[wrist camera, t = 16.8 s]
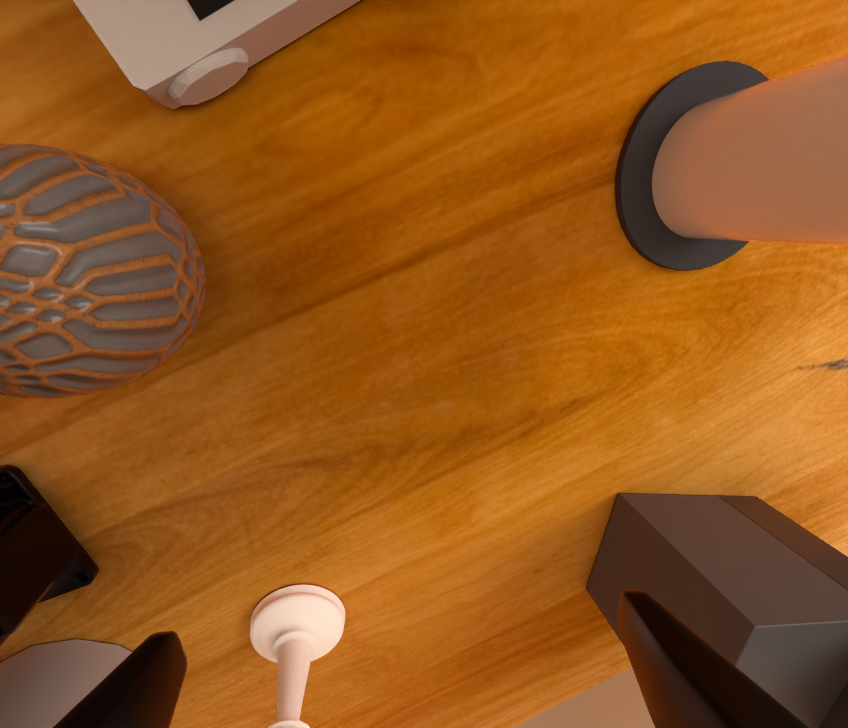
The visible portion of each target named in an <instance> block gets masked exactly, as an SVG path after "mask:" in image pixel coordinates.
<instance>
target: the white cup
mask: <svg viewBox="0 0 848 728" xmlns="http://www.w3.org/2000/svg"><path fill="white" fill-rule="evenodd" d="M652 196H653V201H654V205H655V208H656V211H657V213H658V215H659V217H660V219H661V220H662V221H663V223H664V224H665V225H666V226H667V227H668V228H669V229H670V230H671V231H673V232H674V233H676V234H678V235H680V236H682V237H686V238H691V239H710V240H732V241H755V242H778V243H801V244H824V245H847V246H848V54H846V55H843V56H840V57H837V58H834V59H831V60H828V61H825V62H822V63H819V64H816V65H813V66H810V67H807V68H804V69H801V70H798V71H795V72H792V73H789V74H787V75H784V76H781V77H778V78H775V79H772V80H769V81H766V82H763V83H760V84H757V85H754V86H751V87H748V88H745V89H742V90H739V91H736V92H733V93H730V94H727V95H724V96H721V97H718V98H715V99H712V100H709V101H706V102H703V103H701V104H699V105H697V106H695V107H694V108H692V109H691V110H689V111H688V112H687V113H685V114H684V115H683V116H682V117H681V118H680V119H679V120H678V121H677V122H676V123H675V124H674V125H673V127H672V128H671V129H670V131H669V132H668V133H667V135H666V137H665V139H664V140H663V142H662V144H661V146H660V149H659V151H658V154H657V156H656V159H655V163H654V168H653V174H652Z"/></svg>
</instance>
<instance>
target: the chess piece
mask: <svg viewBox="0 0 848 728" xmlns="http://www.w3.org/2000/svg"><path fill="white" fill-rule="evenodd" d="M344 622H345V609H344V606H343V604H342V602H341V600H340V599H339V598H338V597H337V596H336V595H335V594H334V593H332V592H331V591H329V590H327V589H325V588H322V587H319V586H315V585H305V584H303V585H292V586H288V587H284V588H281V589H279V590H276V591H274V592H273V593H271V594H269V595H268V596H266V597H265V598H264V599H263V600H262V601H261V602H260V603H259V604H258V605H257V606H256V608H255V610H254V612H253V614H252V617H251V623H250V625H251V628H250V639H251V643H252V645H253V647H254V649H255V650H256V651H257V652H258V653H259V654H260V655H261V656H262V657H264V658H265V659H267V660H269V661H272V662H275V663H278V676H277V708H276V723H273V724H271V725H270V726H268V727H267V728H310V727H309V726H308V725H307V724H306V723H304V722H302V721H299V719H300V714H301V708H302V702H303V697H304V691H305V686H306V681H307V677H308V672H309V667H310V662H311V661H314V660H316V659H318V658H320V657H322V656H324V655H325V654H327V653H328V652H329V651H331V650H332V649H333V648H334V647H335V646H336V644H337V643H338V642H339V640H340V638H341V636H342V633H343V629H344Z"/></svg>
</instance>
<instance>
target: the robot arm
mask: <svg viewBox="0 0 848 728" xmlns="http://www.w3.org/2000/svg"><path fill="white" fill-rule="evenodd" d="M3 476H5V477H7V478H8V479H9V480H6V479H4V478H3ZM98 572H99V569H98V567H97V565H96V564H95V563H94V562H93V560H92V559H91V558H90V557H89V555H88V554H87V553H86V551H85V550H84V549H83V548H82V546H81V545H80V544H79V543H78V541H77V540H76V539H75V538H74V536H73V535H72V534H71V533H70V531H69V530H68V529H67V527H66V526H65V525H64V524H63V522H62V521H61V520H60V519H59V517H58V516H57V515H56V514H55V512H54V511H53V510H52V509H51V507H50V506H49V505H48V504H47V502H46V501H45V500H44V498H43V497H42V496H41V495H40V493H39V492H38V491H37V490H36V488H35V487H34V486H33V485H32V483H31V482H30V481H29V480H28V478H27V477H26V476H25V474H24V473H23V472H22V471H21V470H20V469H19V468H17V467H15V466H12V465H4V466H0V646H1V645H2V644H3V642H4V641H5V640H6V639H7V638H8V636H9V635H10V634H12V633H13V632H14V631H16V629H17V628H18V627H19V626H20V624H21V623H22V622H23V621H24V619H25V618H26V617H27V616H28V614H29V613H30V612H31V611H32V610H33V608H34V607H35V606H36V605H37V603H40V602H43V601H45V600H48V599H51V598H53V597H56V596H59V595H62V594H64V593H67V592H70V591H73V590H75V589H78V588H81V587H83V586H86V585H88V584H90V583H92V581H93V580H94V579H95V577H96V576H97V574H98ZM82 573H85V574H86V575H85V574H82ZM617 624H618V629H619V632H620V635H621V638H622V640H623V643H624V646H625V649H626V651H627V654H628V657H629V659H630V662H631V665H632V668H633V670H634V673H635V676H636V678H637V681H638V684H639V687H640V689H641V692H642V695H643V697H644V700H645V702H646V705H647V708H648V711H649V713H650V716H651V718H652V721H653V723H654V725H655V727H656V728H810V727H808V726H807V725H806V724H805V723H803V722H802V721H801V720H800V719H799V718H797V717H796V716H795V715H794V714H793V713H791V712H790V711H789V710H788V709H787V708H785V707H784V706H783V705H782V704H781V703H779V702H778V701H777V700H776V699H775V698H773V697H772V696H771V695H770V694H769V693H767V692H766V691H765V690H764V689H762V688H761V687H760V686H759V685H758V684H756V683H755V682H754V681H753V680H752V679H750V678H749V677H748V676H747V675H746V674H744V673H743V672H742V671H741V670H740V669H738V668H737V667H736V666H735V665H734V664H732V663H731V662H730V661H729V660H727V659H726V658H725V657H724V656H723V655H721V654H720V653H719V652H718V651H717V650H715V649H714V648H713V647H712V646H711V645H709V644H708V643H707V642H706V641H705V640H703V639H702V638H701V637H700V636H699V635H697V634H696V633H695V632H694V631H693V630H691V629H690V628H689V627H688V626H686V625H685V624H684V623H683V622H682V621H680V620H679V619H678V618H677V617H676V616H674V615H673V614H672V613H671V612H670V611H668V610H667V609H666V608H665V607H664V606H662V605H661V604H660V603H659V602H658V601H656V600H655V599H654V598H653V597H651V596H650V595H649V594H648V593H647V592H645V591H643V590H640V589H636V590H625V591H623V592H622V593H621V596H620V601H619V608H618V615H617ZM186 669H187V657H186V654H185V652H184V649H183V647H182V644H181V642H180V639H179V637H178V635H177V633H175V632H174V631H169V632H158V633H154V634H152V635H151V636H149V637H148V638H147V639H146V640H145V641H144V642H143V643H142V644H140V645H139V646H138V647H137V648H136V649H135V650H134V651H133V652H132V653H131V654H130V655H129V656H128V657H127V658H126V659H125V660H124V661H122V662H121V663H120V664H119V665H118V666H117V667H116V668H115V669H114V670H113V671H112V672H111V673H110V674H109V675H108V676H107V677H106V678H104V679H103V680H102V681H101V682H100V683H99V684H98V685H97V686H96V687H95V688H94V689H93V690H92V691H91V692H90V693H89V694H88V695H86V696H85V697H84V698H83V699H82V700H81V701H80V702H79V703H78V704H77V705H76V706H75V707H74V708H73V709H72V710H71V711H70V712H68V713H67V714H66V715H65V716H64V717H63V718H62V719H61V720H60V721H59V722H58V723H57V724H56V725H55V726H54V727H53V728H169V727H170V723H171V720H172V717H173V713H174V710H175V707H176V703H177V700H178V697H179V693H180V690H181V687H182V683H183V680H184V677H185V673H186Z"/></svg>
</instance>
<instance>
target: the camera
mask: <svg viewBox="0 0 848 728" xmlns="http://www.w3.org/2000/svg"><path fill="white" fill-rule="evenodd" d="M73 1H74V3H75V4H76V6H77V7H78V8H79V10H80V11H81V13H82V14H83V15H84V17H85V18H86V20H87V21H88V23H89V24H90V25H91V27H92V28H93V30H94V31H95V33H96V34H97V35H98V37H99V38H100V40H101V41H102V43H103V44H104V45H105V47H106V48H107V50H108V51H109V52H110V54H111V55H112V57H113V58H114V60H115V61H116V62H117V64H118V65H119V67H120V68H121V70H122V71H123V72H124V74H125V75H126V77H127V78H128V79H129V81H130V82H131V84H132V85H133V86H134V87H136V88H137V89H139V90H140V91H142V92H143V93H145V94H146V95H148V96H149V97H151V98H152V99H154V100H155V101H157V102H158V103H160V104H161V105H163V106H164V107H167V108H171V109H176V108H178V107H180V106H182V105H197V104H199V103H201V102H204V101H206V100H209V99H211V98H214V97H216V96H218V95H219V94H221V93H223V92H224V91H226V90H227V89H229V88H230V87H232V86H233V85H235V84H236V83H237V82H238V81H239V80H240V79H241V78H242V76H243V75H244V74H245V73H246V72H247V70H248V68H249V67H251V66H252V65H254V64H256V63H257V62H259V61H261V60H262V59H264V58H266V57H267V56H269V55H271V54H272V53H274V52H276V51H277V50H279V49H281V48H282V47H284V46H286V45H287V44H289V43H291V42H292V41H294V40H296V39H297V38H299V37H301V36H302V35H304V34H306V33H307V32H309V31H310V30H312V29H314V28H315V27H317V26H319V25H320V24H322V23H324V22H325V21H327V20H329V19H330V18H332V17H334V16H335V15H337V14H339V13H340V12H342V11H344V10H345V9H347V8H349V7H350V6H352V5H354V4H355V3H357V2H359V1H360V0H73Z"/></svg>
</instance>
